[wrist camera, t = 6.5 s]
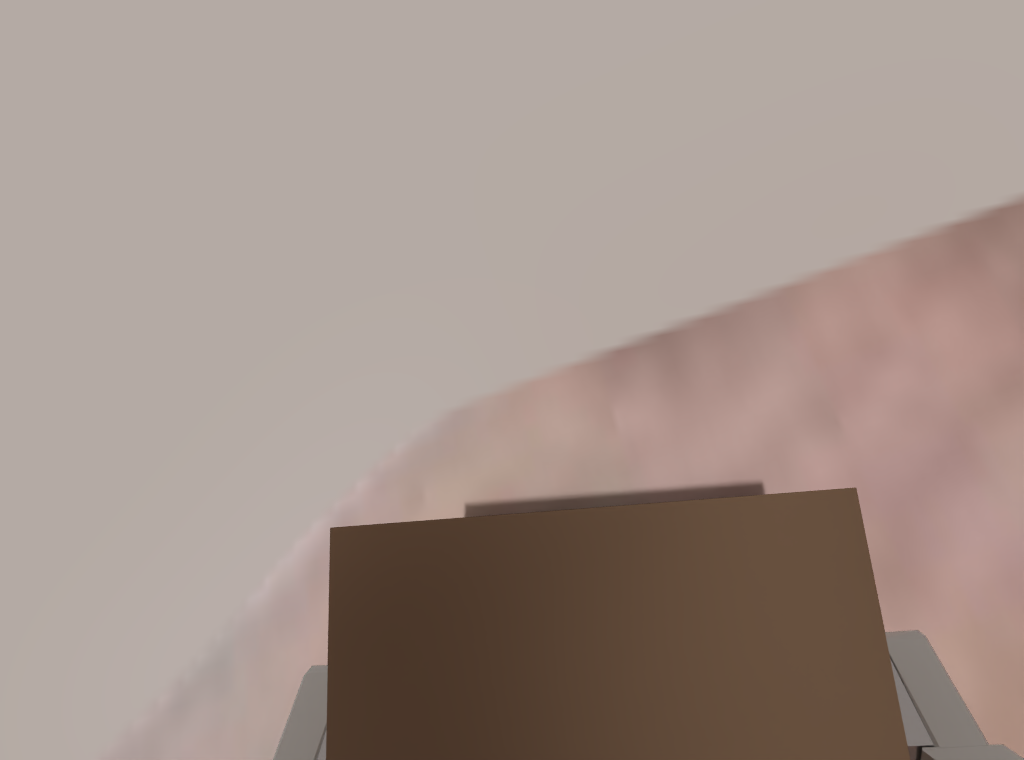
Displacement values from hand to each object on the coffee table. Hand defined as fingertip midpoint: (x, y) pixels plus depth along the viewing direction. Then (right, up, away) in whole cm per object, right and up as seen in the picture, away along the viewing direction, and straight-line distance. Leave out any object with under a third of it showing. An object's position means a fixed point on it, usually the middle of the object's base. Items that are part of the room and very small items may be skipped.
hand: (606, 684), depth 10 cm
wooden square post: (+1, -2, +5) cm, 6 cm away
